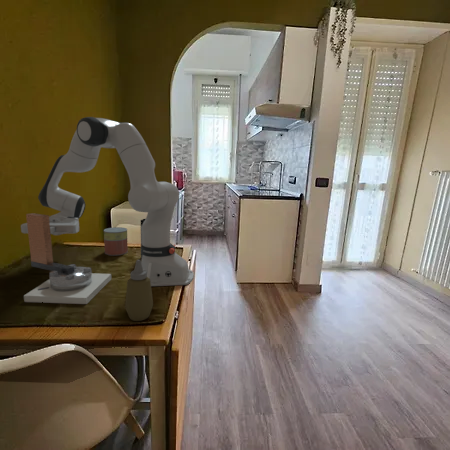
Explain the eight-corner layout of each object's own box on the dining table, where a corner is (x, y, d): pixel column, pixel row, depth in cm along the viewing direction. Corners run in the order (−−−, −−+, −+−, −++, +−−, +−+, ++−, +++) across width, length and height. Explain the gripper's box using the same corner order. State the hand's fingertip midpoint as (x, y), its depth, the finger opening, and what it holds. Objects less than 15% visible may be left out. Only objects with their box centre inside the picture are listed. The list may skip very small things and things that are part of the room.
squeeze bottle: (155, 309, 86) (155, 256, 82) (149, 324, 78) (149, 265, 74) (130, 309, 85) (128, 255, 82) (121, 323, 77) (119, 264, 74)
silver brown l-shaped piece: (100, 279, 100) (96, 217, 95) (70, 294, 88) (64, 224, 83) (51, 268, 108) (46, 211, 103) (18, 281, 96) (10, 216, 91)
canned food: (110, 248, 145) (109, 226, 143) (131, 249, 145) (130, 227, 142) (100, 254, 134) (99, 231, 132) (122, 256, 134) (121, 232, 131)
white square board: (111, 279, 107) (111, 273, 106) (86, 304, 87) (86, 297, 86) (60, 277, 106) (60, 271, 106) (24, 301, 87) (23, 294, 86)
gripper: (30, 217, 114) (11, 223, 101) (81, 217, 118) (70, 224, 104) (31, 231, 115) (13, 240, 102) (82, 231, 119) (71, 239, 106)
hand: (42, 232), depth 103 cm, fingers closed
